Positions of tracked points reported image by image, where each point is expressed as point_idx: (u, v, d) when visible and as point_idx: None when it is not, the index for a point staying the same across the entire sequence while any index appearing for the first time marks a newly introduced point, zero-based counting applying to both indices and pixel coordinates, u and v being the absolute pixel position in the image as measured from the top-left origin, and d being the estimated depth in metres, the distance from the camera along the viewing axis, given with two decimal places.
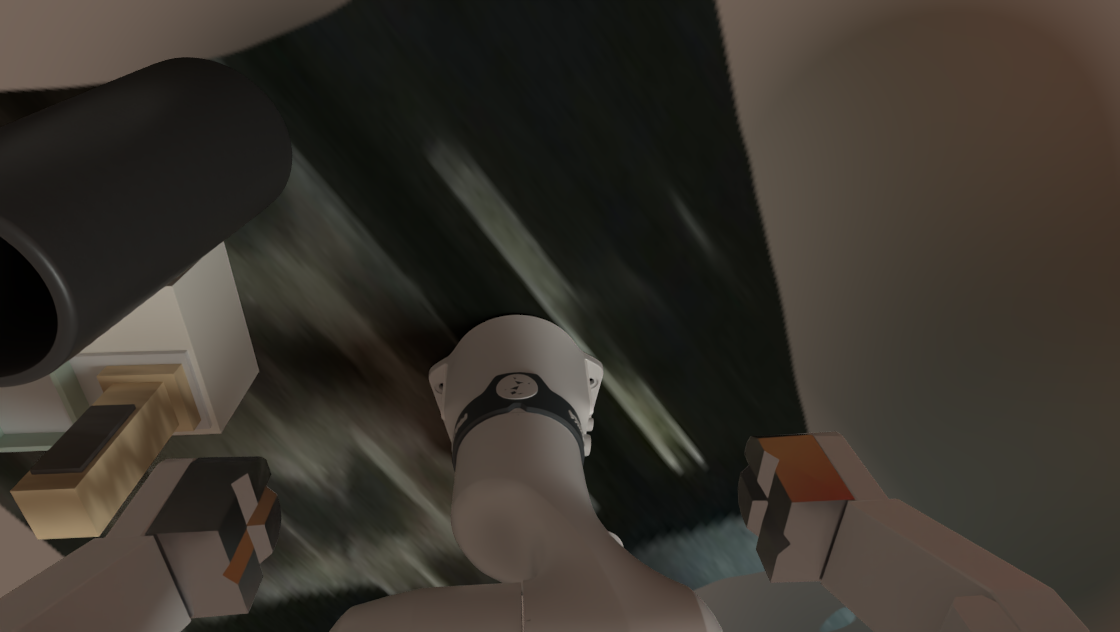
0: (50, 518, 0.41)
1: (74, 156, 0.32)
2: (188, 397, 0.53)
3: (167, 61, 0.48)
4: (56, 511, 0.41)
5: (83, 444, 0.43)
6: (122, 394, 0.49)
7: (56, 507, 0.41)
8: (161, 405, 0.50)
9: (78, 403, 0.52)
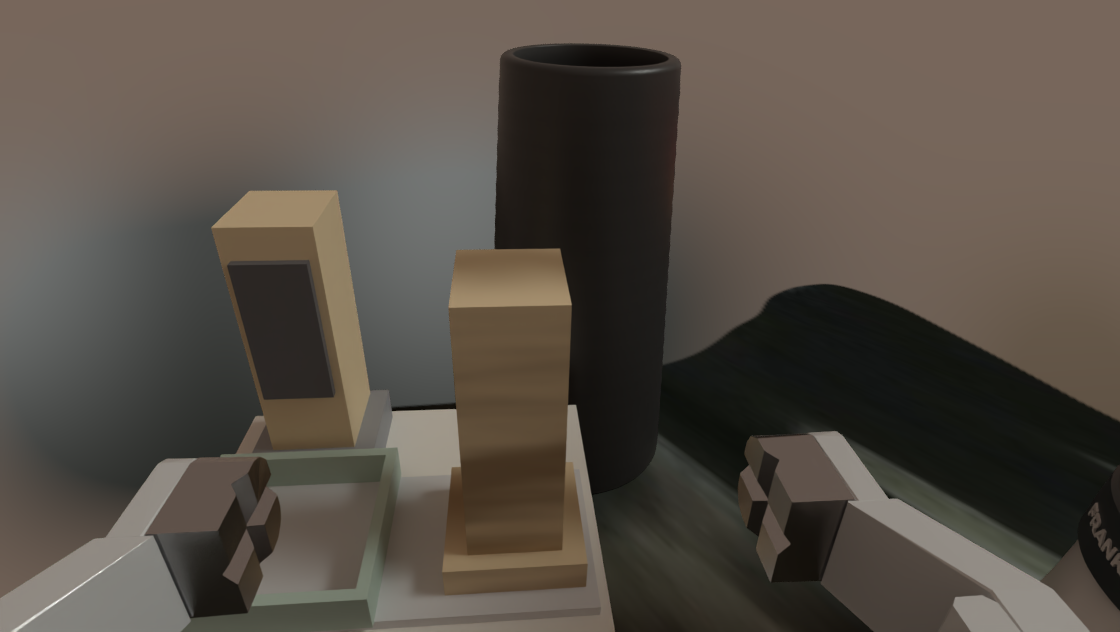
0: (496, 279, 0.22)
1: None
2: None
3: None
4: (513, 271, 0.22)
5: None
6: None
7: (516, 266, 0.23)
8: None
9: (386, 526, 0.28)
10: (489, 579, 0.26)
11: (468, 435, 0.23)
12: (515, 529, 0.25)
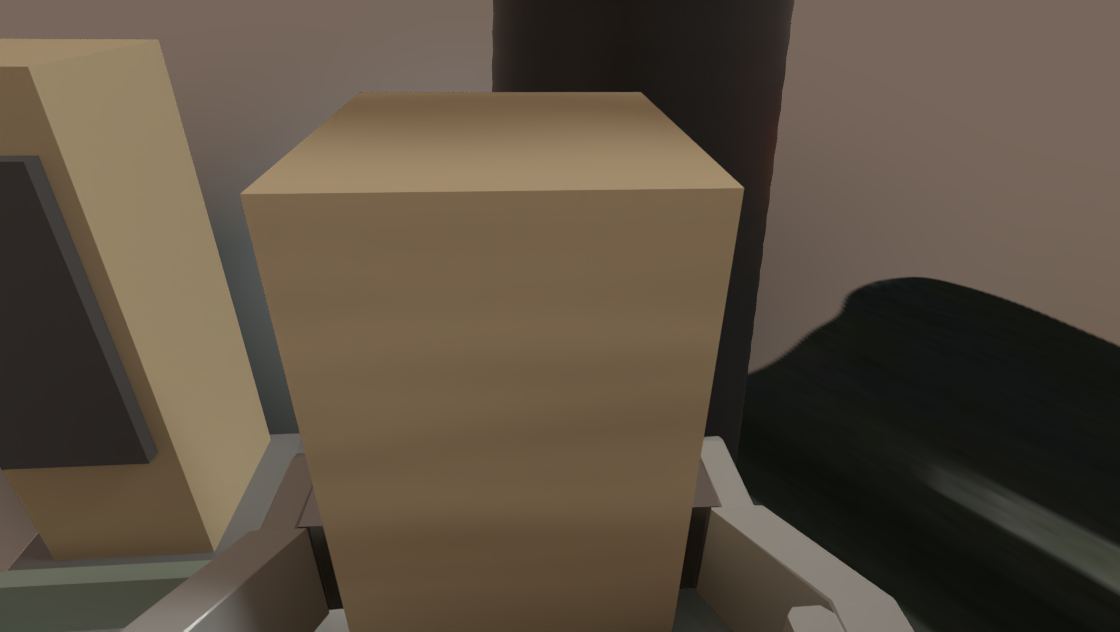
0: (457, 134, 0.07)
1: None
2: None
3: None
4: (513, 122, 0.07)
5: None
6: None
7: (524, 115, 0.07)
8: None
9: None
10: None
11: (379, 628, 0.07)
12: None
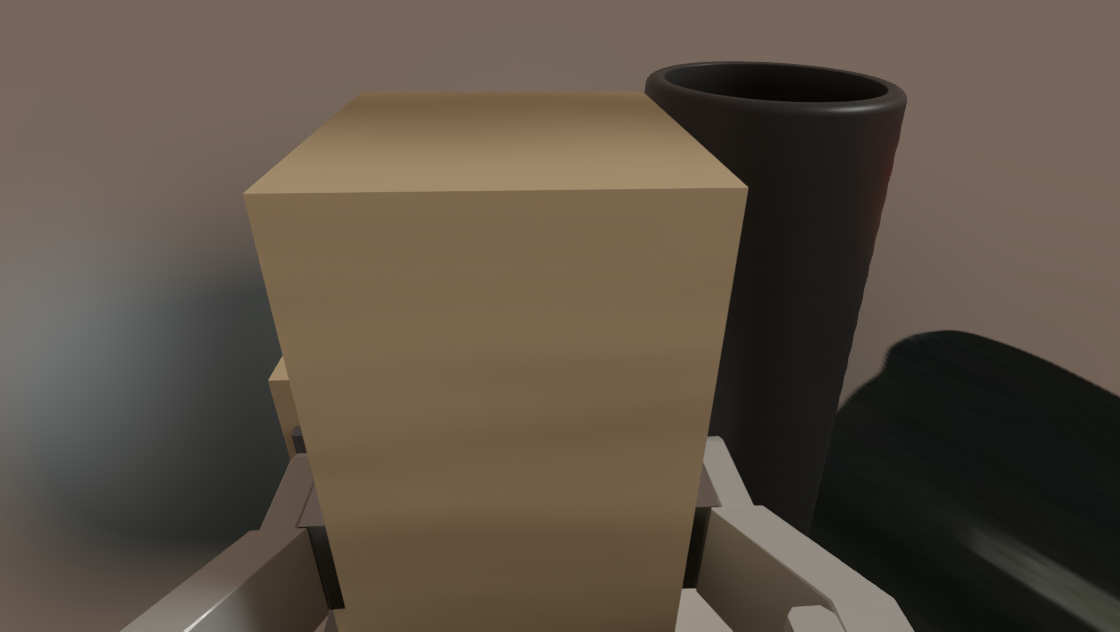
0: (460, 134, 0.07)
1: None
2: None
3: None
4: (515, 121, 0.07)
5: None
6: None
7: (526, 114, 0.07)
8: None
9: None
10: None
11: (381, 629, 0.07)
12: None
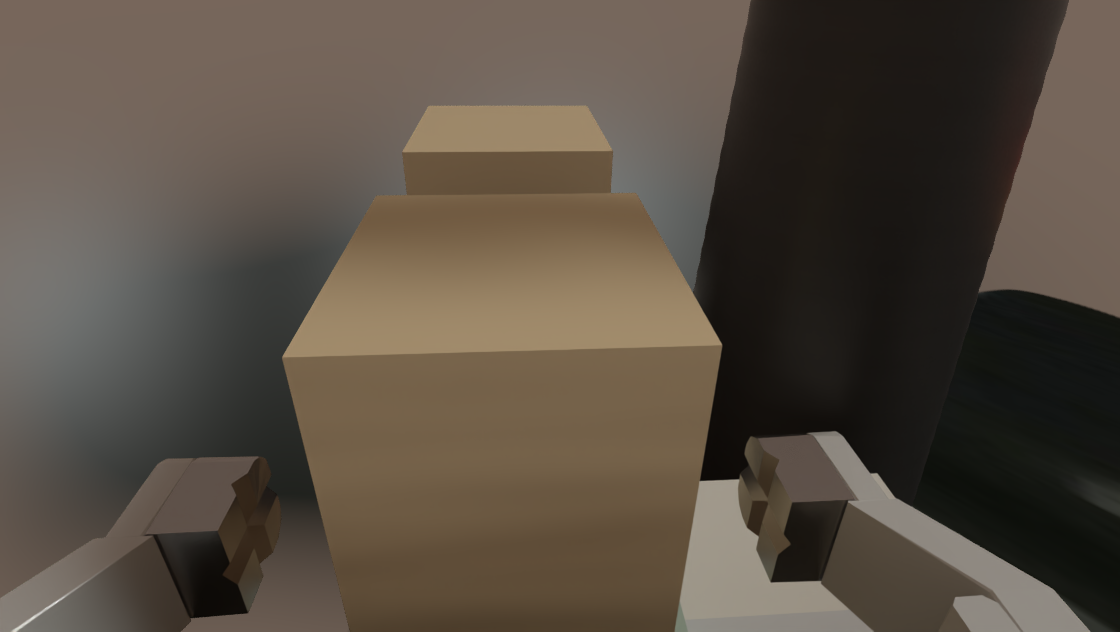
0: (468, 264, 0.07)
1: None
2: None
3: None
4: (518, 244, 0.08)
5: None
6: None
7: (528, 231, 0.08)
8: None
9: None
10: None
11: None
12: None
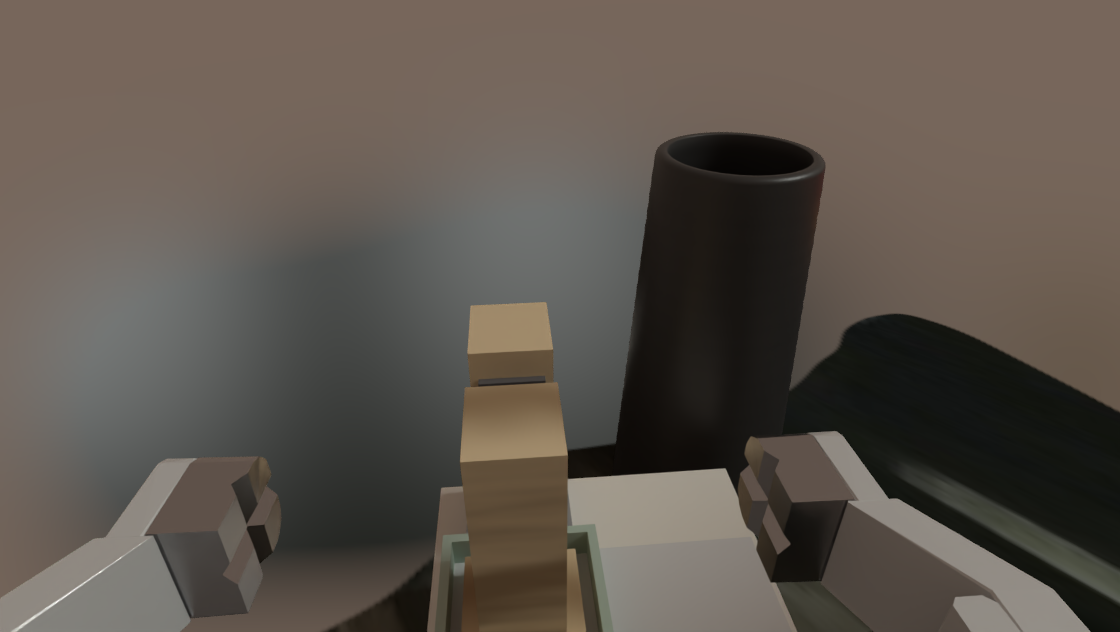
0: (501, 425, 0.25)
1: None
2: None
3: None
4: (516, 414, 0.25)
5: None
6: None
7: (519, 407, 0.25)
8: None
9: None
10: None
11: (480, 557, 0.26)
12: (524, 628, 0.28)
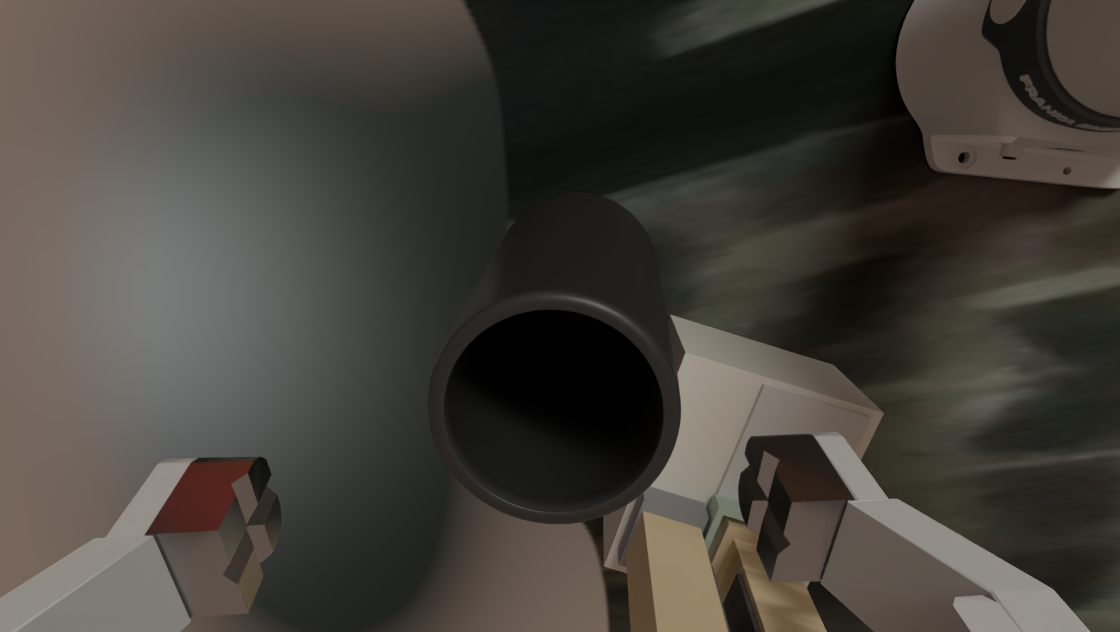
0: None
1: (493, 274, 0.31)
2: None
3: None
4: None
5: None
6: (726, 578, 0.45)
7: None
8: (756, 554, 0.45)
9: None
10: None
11: None
12: None
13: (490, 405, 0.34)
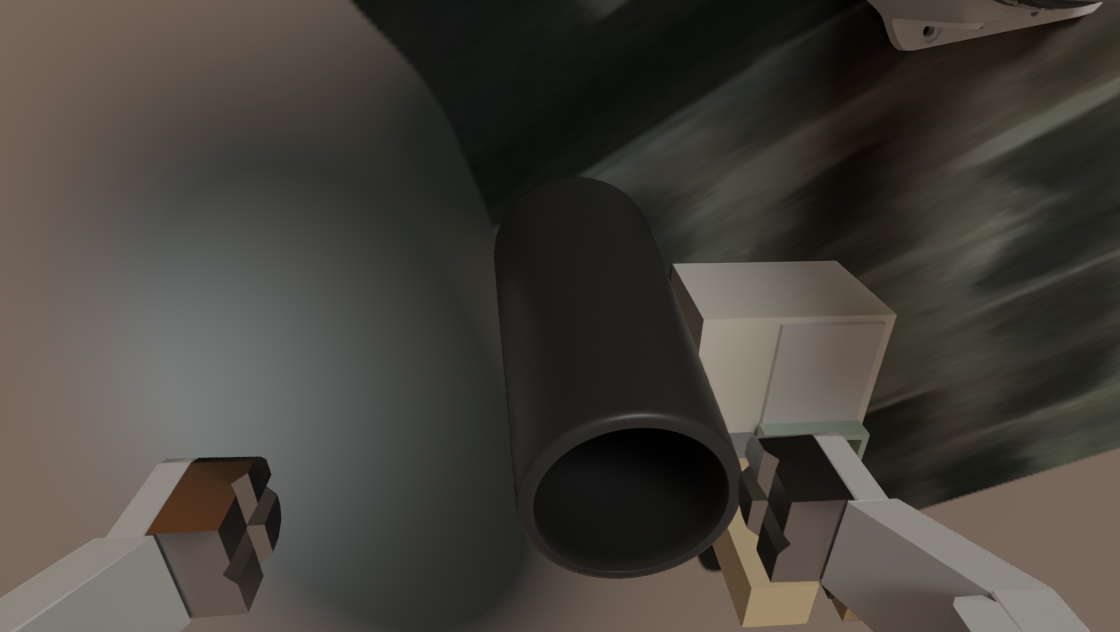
0: None
1: (526, 366, 0.32)
2: None
3: None
4: None
5: None
6: None
7: None
8: None
9: (814, 429, 0.50)
10: None
11: None
12: None
13: (556, 460, 0.37)
